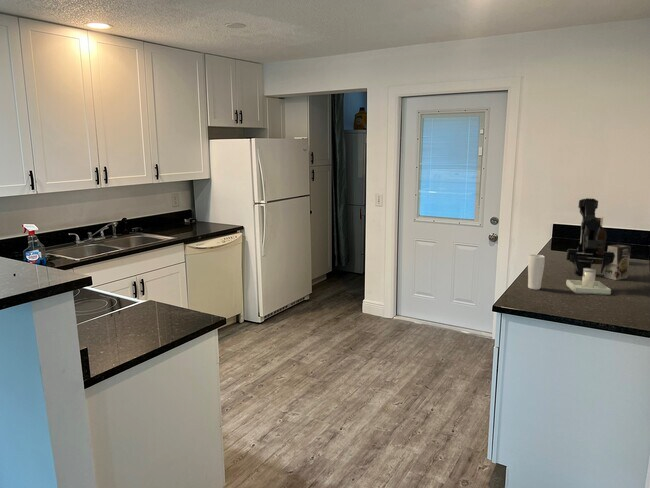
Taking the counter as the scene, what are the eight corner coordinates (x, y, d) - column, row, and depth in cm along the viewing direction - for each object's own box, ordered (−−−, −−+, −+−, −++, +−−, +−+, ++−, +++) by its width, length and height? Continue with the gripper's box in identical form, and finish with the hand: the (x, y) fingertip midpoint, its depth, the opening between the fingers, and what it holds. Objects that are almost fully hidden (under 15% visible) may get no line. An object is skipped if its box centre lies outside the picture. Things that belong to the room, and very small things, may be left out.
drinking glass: (541, 287, 226) (544, 254, 223) (542, 291, 220) (545, 257, 217) (525, 285, 228) (528, 253, 226) (526, 289, 222) (529, 256, 219)
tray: (598, 286, 228) (599, 281, 227) (610, 295, 214) (610, 289, 214) (566, 285, 230) (566, 279, 230) (575, 293, 217) (576, 287, 216)
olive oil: (591, 259, 285) (595, 216, 281) (608, 263, 276) (613, 218, 271) (577, 261, 281) (582, 217, 276) (594, 264, 271) (599, 219, 267)
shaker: (588, 286, 225) (590, 267, 223) (596, 289, 220) (598, 270, 219) (578, 287, 224) (580, 267, 222) (586, 290, 219) (589, 270, 217)
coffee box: (616, 280, 239) (620, 247, 236) (603, 277, 244) (607, 245, 241) (627, 278, 243) (631, 245, 240) (615, 275, 249) (618, 243, 246)
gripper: (569, 231, 225) (568, 260, 217) (616, 234, 217) (617, 264, 210) (566, 245, 233) (565, 273, 225) (612, 248, 226) (612, 277, 218)
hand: (589, 271), depth 219 cm, fingers open, 9 cm apart
